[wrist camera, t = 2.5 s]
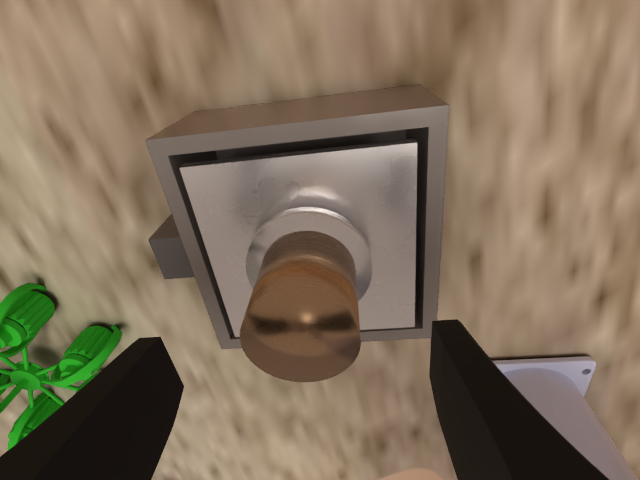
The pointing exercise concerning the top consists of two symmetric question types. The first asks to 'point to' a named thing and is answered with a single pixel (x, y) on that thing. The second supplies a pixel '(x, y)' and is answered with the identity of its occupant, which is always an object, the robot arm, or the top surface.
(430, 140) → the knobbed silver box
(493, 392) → the robot arm
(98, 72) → the top surface
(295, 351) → the plunger
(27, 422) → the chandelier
